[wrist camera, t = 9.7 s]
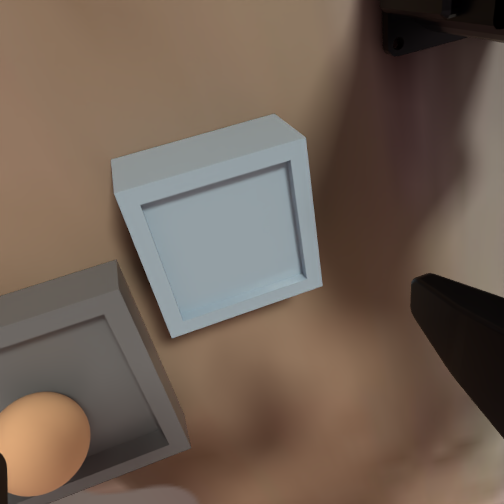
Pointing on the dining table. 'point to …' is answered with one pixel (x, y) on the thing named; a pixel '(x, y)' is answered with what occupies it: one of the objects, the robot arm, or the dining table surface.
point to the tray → (91, 371)
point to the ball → (42, 442)
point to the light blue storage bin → (222, 220)
